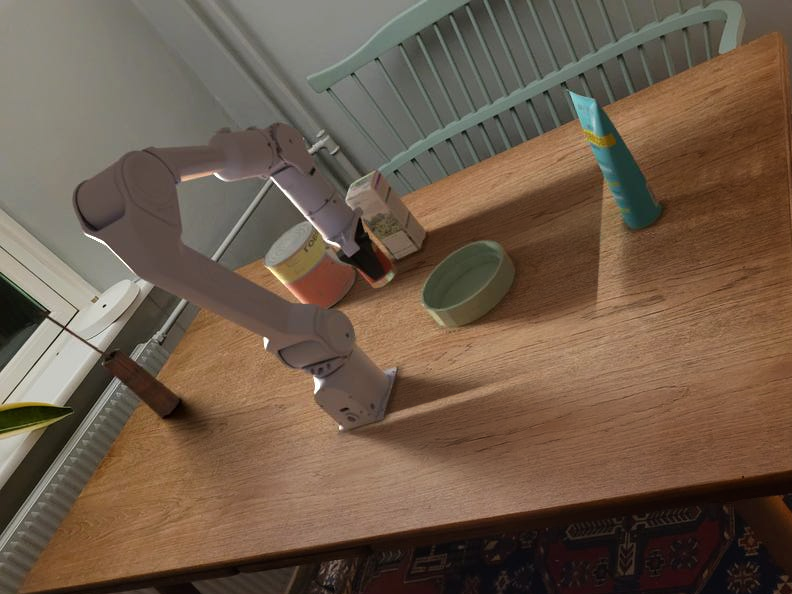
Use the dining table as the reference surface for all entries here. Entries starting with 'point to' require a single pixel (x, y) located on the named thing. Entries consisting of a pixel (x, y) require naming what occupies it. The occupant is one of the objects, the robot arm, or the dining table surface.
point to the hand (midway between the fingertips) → (377, 269)
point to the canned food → (309, 266)
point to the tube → (617, 165)
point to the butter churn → (134, 378)
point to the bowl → (468, 283)
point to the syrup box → (386, 215)
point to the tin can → (387, 265)
